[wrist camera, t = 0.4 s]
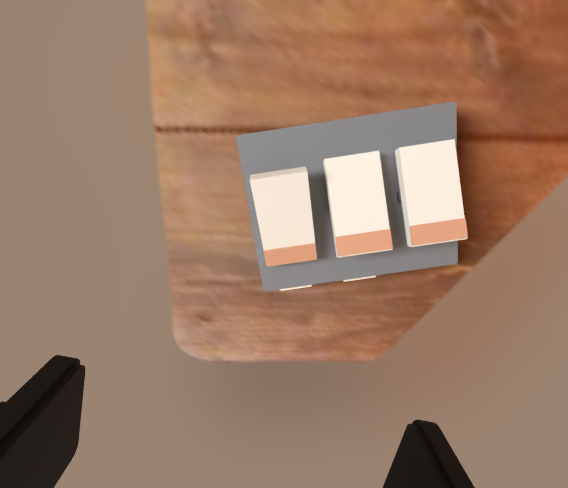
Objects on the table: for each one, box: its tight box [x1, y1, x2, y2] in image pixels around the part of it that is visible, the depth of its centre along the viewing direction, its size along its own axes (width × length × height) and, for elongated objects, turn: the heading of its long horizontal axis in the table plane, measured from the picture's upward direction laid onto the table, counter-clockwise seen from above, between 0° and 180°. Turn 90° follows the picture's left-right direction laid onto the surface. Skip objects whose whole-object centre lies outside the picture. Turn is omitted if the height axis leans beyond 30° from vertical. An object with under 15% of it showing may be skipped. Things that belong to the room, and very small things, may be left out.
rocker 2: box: [323, 151, 393, 258], centre depth 29 cm, size 4×8×1 cm, turn 8°
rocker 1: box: [250, 166, 317, 267], centre depth 29 cm, size 4×8×1 cm, turn 8°
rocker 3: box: [395, 139, 468, 247], centre depth 29 cm, size 4×8×1 cm, turn 8°
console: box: [236, 101, 458, 292], centre depth 32 cm, size 18×14×5 cm
